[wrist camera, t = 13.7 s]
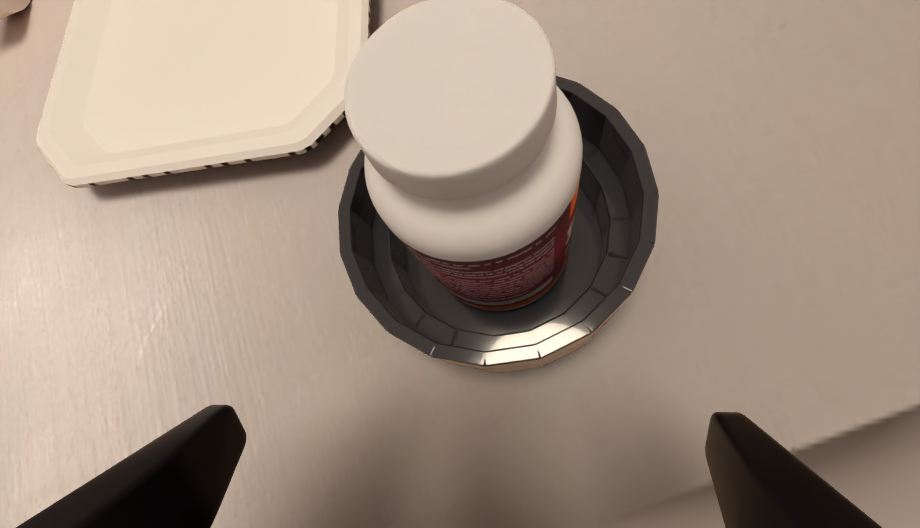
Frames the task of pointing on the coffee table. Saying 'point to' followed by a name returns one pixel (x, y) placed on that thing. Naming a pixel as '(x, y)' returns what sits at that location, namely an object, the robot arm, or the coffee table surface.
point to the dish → (565, 304)
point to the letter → (12, 6)
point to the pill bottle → (469, 146)
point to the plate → (195, 84)
